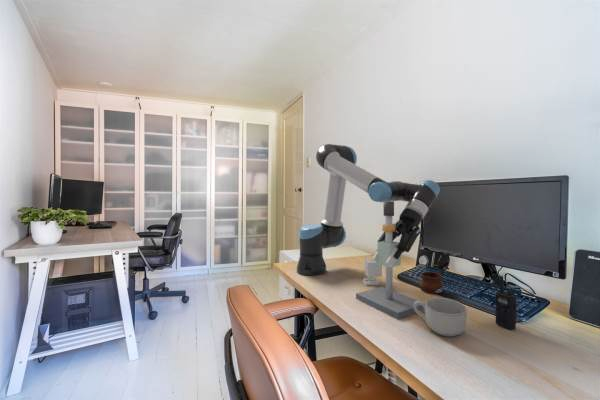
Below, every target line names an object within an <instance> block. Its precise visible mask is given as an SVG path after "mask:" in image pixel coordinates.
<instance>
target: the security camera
mask: <svg viewBox="0 0 600 400" xmlns="http://www.w3.org/2000/svg"><path fill="white" fill-rule="evenodd" d="M382 267H383V265H380V264H378V263H376V262H375V261H374V260H373V259H372V258H371V259H369V258H367V259H365V258H364V274H365V275H366V276H367V277H368V278H367V277H366V278H365V277H364V278H362V279H363V280H362V281H363V284H364V285H365V286H378V285H379V281H378V280H377V279H376V278H374V277H381V278H382V276H383V268H382Z"/></svg>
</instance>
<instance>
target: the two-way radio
mask: <svg viewBox="0 0 600 400" xmlns="http://www.w3.org/2000/svg"><path fill="white" fill-rule="evenodd" d="M504 286H505V285H504V276H503V275H500V276H499V288H498V290H499V291H497V292H496V293H495V312H494V313H495V314H494V315H495V324H496V325H498V326H500V327H503V328H505V329H508V330H516V328H517V327H516V326H517V313H518V311H517V309H518V308H517V307H518V306H517V305H518V304H517V297H516V296H515V295H514V293H513V291H512V290H511V289H507V290H506V291H507V292H505V291H504V290H505V289H504V288H505V287H504Z"/></svg>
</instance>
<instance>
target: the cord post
mask: <svg viewBox="0 0 600 400" xmlns="http://www.w3.org/2000/svg"><path fill="white" fill-rule="evenodd" d="M383 216H385V219H384V221H385V222H384V223H385V224H382V232H385V243H389V244H390V243H392V232H394V231H395V225H392V224H393V217H394V216H395V201H384V202H383ZM393 273H394V271H393V267H386V266H385V287H384V286H380V287H376V288H372V289H368V290H365V291H360V292H356V293H355V299H356V300H358V301H359V302H362V303H365V304H366V305H368V306H370V307H373V308H374V309H377V310H379V311H380V312H383V313H385V314H386V315H388V316H390V317H393V318H395V319H397V320H399V319H402V318H405V317H408V316H410V315H414V314H417V313H416V312H415V310H414V307H413V306H414V303H415V302H416V301H418V300H419V299H415V298H413V297H411V296H408V295H405V294H403V293H400V292H398V291H395V290H394V289H393V288H394V285H393V283H394V281H393V280H394V279H393V278H394V275H393ZM417 308H418V310H419V311H420V312H423V311H425V310H424V307H423V306H422V305H421V304H418V305H417Z"/></svg>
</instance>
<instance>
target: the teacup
mask: <svg viewBox="0 0 600 400" xmlns="http://www.w3.org/2000/svg"><path fill="white" fill-rule="evenodd" d="M417 300H418V301H416V302H415V303H414V306H413V307H414V310H415V312H416V313H415V314H417V315H418V316H419V317H421V318H422V319H423V321H424V322H426V324H427V326H428V327H429V328H430V329H431V330H432V331H434V333H436V334H437V335H441V336H444V337H451V338H452V337H453V338H454V337H456V336H459V335H460V334H462V333H463V332H464V330H465V329H466V325H467V311H468V309H467V307H466V305H465V304H463V303H461V302H460V301H458V300H455V299H451V298H447V297H439V296H438V297H430V298H428V299H426V301H423V300H421V299H417ZM418 304H421V305H422V306H423V307H424V310H423V311H424V312H425V313H423V312H422V311H419V310H418V308H417V305H418Z"/></svg>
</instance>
